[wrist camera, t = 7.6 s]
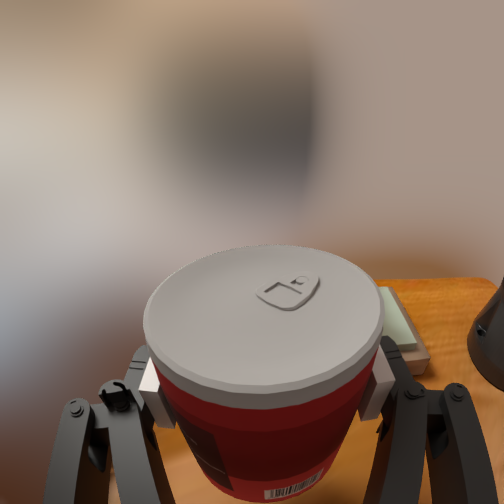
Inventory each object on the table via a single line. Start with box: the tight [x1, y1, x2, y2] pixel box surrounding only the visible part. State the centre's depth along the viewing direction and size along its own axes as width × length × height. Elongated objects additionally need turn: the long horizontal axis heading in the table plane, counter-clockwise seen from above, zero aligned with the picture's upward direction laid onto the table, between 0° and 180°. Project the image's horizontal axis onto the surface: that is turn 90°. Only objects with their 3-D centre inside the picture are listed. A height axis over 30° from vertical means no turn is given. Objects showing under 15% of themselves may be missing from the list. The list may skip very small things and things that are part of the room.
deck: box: [379, 287, 430, 376], centre depth 32 cm, size 22×14×4 cm, turn 86°
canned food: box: [143, 245, 385, 503], centre depth 12 cm, size 8×8×11 cm
